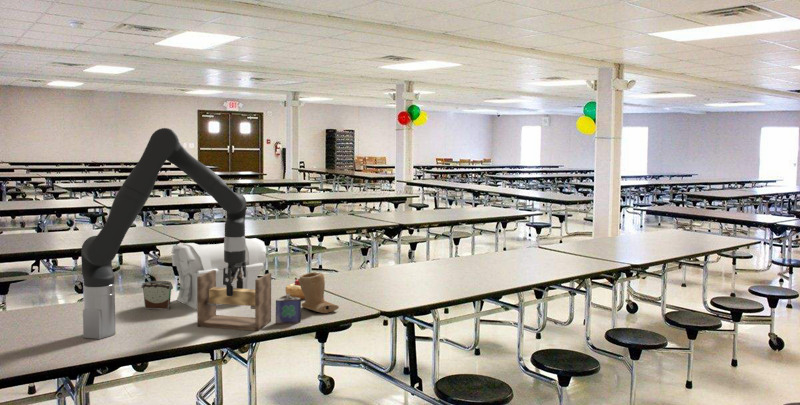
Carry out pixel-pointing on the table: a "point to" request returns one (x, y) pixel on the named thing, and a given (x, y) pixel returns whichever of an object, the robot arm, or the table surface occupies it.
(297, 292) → the pastry
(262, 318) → the shelf rack
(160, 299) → the food container
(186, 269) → the chest
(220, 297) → the shelf board
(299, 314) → the flask
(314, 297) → the tan ankle boot
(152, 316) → the table surface
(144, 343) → the table surface
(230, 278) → the robot arm
